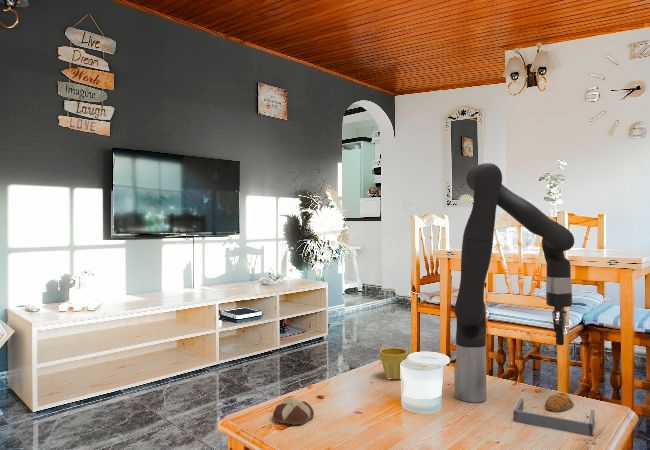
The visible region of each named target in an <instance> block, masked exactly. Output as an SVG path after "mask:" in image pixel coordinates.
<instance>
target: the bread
mask: <svg viewBox="0 0 650 450" xmlns="http://www.w3.org/2000/svg"><path fill="white" fill-rule="evenodd" d="M272 412H273V413H272V417H273V419H274V420H275V421H276V422H278V423H279V422H280V423H281V424H284V423H287V424H286V425H290V424H292V425H291V426H298V425H297V424H302V425H304V424H305V423H306V422H308V420H309V421H311V419H313V418H314V416H315V412H314V409H313V407H312V406H311V405H310V404H309V403H308V402H307V401H304V400H303V401H302V400H301V401H300V400H299V399H297V398H288V399H285V400H283V401H282V402H281V403H279V404H277V405H276V407H275V408H274V410H273V411H272ZM303 423H304V424H303Z"/></svg>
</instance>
